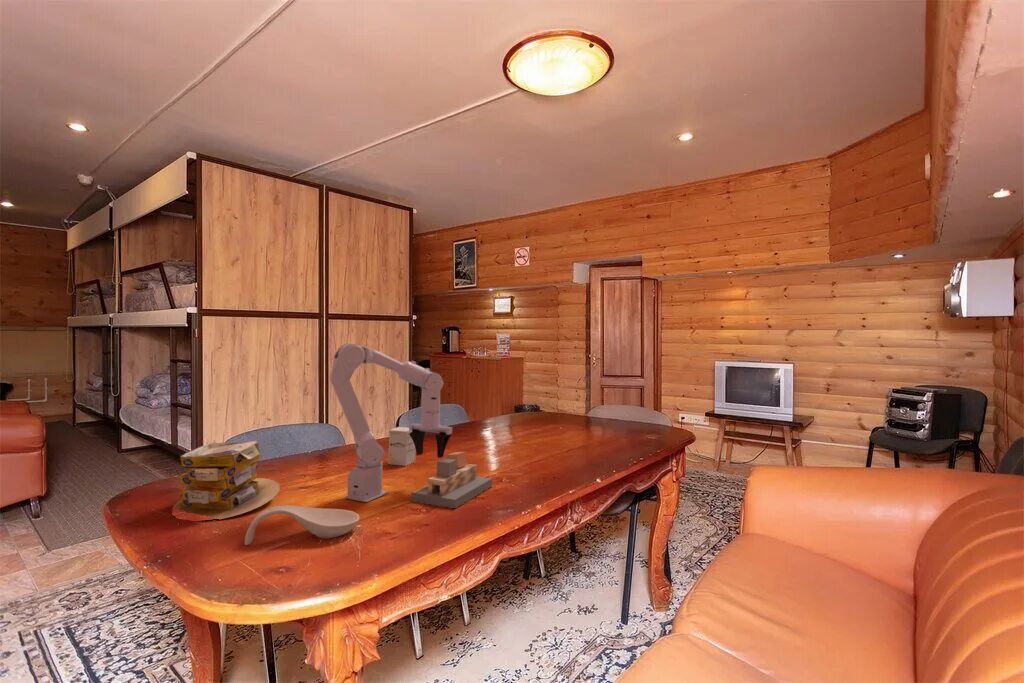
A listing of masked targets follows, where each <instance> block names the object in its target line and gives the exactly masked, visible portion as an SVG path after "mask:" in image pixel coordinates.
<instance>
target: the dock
mask: <svg viewBox="0 0 1024 683" xmlns="http://www.w3.org/2000/svg"><path fill="white" fill-rule="evenodd" d="M491 486H493V478H489V477H483V476H477V478H476V479H474V480H472V481H470V482H468V483H466V484H464V485H463V486H461V487H459V488H457V489H455V490H453V491H451V492H449V493H448V494H446V495H444V496H442V495H440V490H438V491H436V492H434V493H432V494H430V493H428V484H426V485H423V486H421V487H419V488H417V489H414V491H411V493H410V494H411V497H410V498H411V499H410V500H411V502H412V501H415V502H414V503H418V502H422V503H421V504H423V503H427V504H426V505H429V504H432V505H431V506H435V505H439V506H438V507H440V506H445V507H444V508H446V507H449V508H448V509H452V508H456V509H458V508H459V507H461V506H462V505H464V504H465V502H466V503H468V502H470V501H471V500H472V499H474V498H476V497H477V496H479V495H480V493H481V494H482V493H483V491H484V492H485V490H486V491H488V490H489V489H491V488H492V487H491ZM490 487H491V488H490ZM488 488H489V489H488ZM478 494H479V495H478ZM475 496H476V497H475ZM470 499H471V500H470ZM460 505H461V506H460ZM458 506H459V507H458Z"/></svg>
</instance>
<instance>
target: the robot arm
mask: <svg viewBox="0 0 1024 683" xmlns="http://www.w3.org/2000/svg"><path fill="white" fill-rule="evenodd" d="M362 364H375V365H378V366H381V367H382V368H385V369H388V370H390V371H393V372H395V373H397V375H398V377H399V379H401V380H402V381H405V382H407V383H409V384H412V385H414V386H417V387H420V388H421V403H420V404H421V407H420V408H421V409H420V413H421V414H420V423H414V422H413V423H409V424H408V428H409V430H411V431H412V432H410V436H411V438H412V440H413V442H414V445H415V448H416V455H417V456H419V455H423V453H424V439H425V435H426V432H427V433H433V434H434V433H435V436H434V437H435V441H436V449H437V454H436V457H437V458H438V459H439V458H442V457H444V455H445V451H446V447H447V444H448V442H449V440H450V438H451V437H452V434H453V426H446V425H442V424H441V390H442V389H443V386H444V383H445V382H444V381H443V378H442V376H441V375H440V374H439V373H437V372H433V371H431V369H430V368H429V367H426V368H425V367H422V366H421V365H419V364H417V361H414V360H411V361H409V360H407V361H404V362H401V361H399V360H396V359H395V358H393V357H391V356H388V355H386V354H385V353H382V352H380V351H378V350H376V349H375V348H370V347H367V346H361V345H360V344H357V343H344V344H342V345H341V346H339V348H338V349H337V351H336V352H335V354H334V355H333V362H332V366H331V371H330V376H329V380H330V382H331V386H332V388H333V391H334V392H335V395H336V397H337V400H338V402H339V404H340V407H341V409H342V411H343V414H344V417H345V418H346V422H347V424H348V426H349V428H350V431H351V432H352V436H353V440H354V443H355V454H356V456H357V457H358V459H357V461H356V463H355V467H354V468H353V469H352V470H350V471H349V472H348V476H347V495H345V497H344V498H345V499H347V500H353V501H358V502H364V503H369V502H371V501H374V500H375V499H378V498H380V497H382V496H384V495H387V494H389V491H388V490H383V460H384V457H385V450H384V448H383V446H381V445H380V444H379V443H378V441H377V440H376V438H375V436H374V434H373V433H372V431H371V429H370V425H369V424H368V420H367V418H366V416H365V414H364V411H363V409H362V407H361V404H360V402H359V400H358V397H357V395H356V393H355V390H354V388H353V385H352V383H351V378H352V376H353V375H354V373H355V371H356V370H357V369H358V368H359V367H360V366H361V365H362ZM436 433H437V434H436Z"/></svg>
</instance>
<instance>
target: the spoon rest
mask: <svg viewBox="0 0 1024 683" xmlns="http://www.w3.org/2000/svg"><path fill="white" fill-rule="evenodd" d="M274 515H286V516H289V517H291V518H292V519H295V521H297V522H298V523H299V524H301V525H302V526H303V527H304V528H305V529H306V530H307V531H308V532H309V533H311V534H313V535H314V536H316V537H317V538H320V539H334V538H337V537H340V536H343V535H345V534H347V533H348V532H350V531H351V530H352V529H353V528H355V526H356V525H357V524H358V523H359V521H360V515H359V514H358V513H357V512H355V511H352V510H348V509H341V508H340V509H339V508H324V507H323V508H321V507H319V508H318V507H311V506H310V507H308V506H301V505H299V506H298V505H291V504H290V505H289V504H288V505H287V504H286V505H277V506H271V507H269V508H267V509H264V510H262V511H261V512H260V513H259V514H257V515H256V516H255V517H254V519H253V520H252V521H251V523H250V525H249V527H248V528H247V531H246V533H245V536H244V537H245V538H244V545H245V546H248V545H251V543H253V540H254V537H255V531H256V528H257V526H258V525H259V524H260V522H262V521H263V520H265V519H266V518H268V517H271V516H274Z"/></svg>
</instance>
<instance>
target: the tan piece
mask: <svg viewBox="0 0 1024 683" xmlns="http://www.w3.org/2000/svg"><path fill="white" fill-rule="evenodd" d="M477 466H478V464H473V463H472V464H471V463H470V464H469V463H467V465H465V466H463V467H460V468H456V474H455V475H453V476H451V477H443V476H437V474H435V475H433V476H431V477H429V478H428V480H427V482H428V484H427V485H428V493H430V494H432V493H434V492H436V491H438V490H440V495H442V496H444V495H446V494H448V493H449V492H451V491H453V490H455V489H457V488H459V487H461V486H463V485H464V484H466V483H468V482H470V481H472V480H474V479H476V478H477V477H478V476H477V475H478V474H477V470H478V469H477V468H478V467H477Z"/></svg>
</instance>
